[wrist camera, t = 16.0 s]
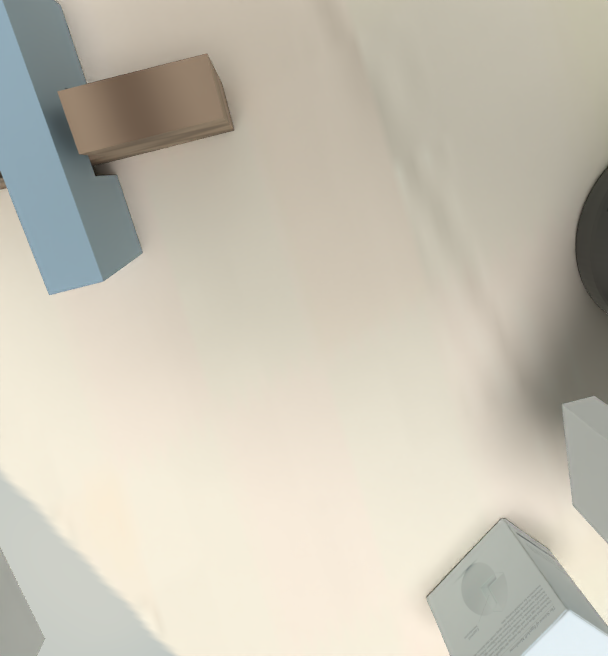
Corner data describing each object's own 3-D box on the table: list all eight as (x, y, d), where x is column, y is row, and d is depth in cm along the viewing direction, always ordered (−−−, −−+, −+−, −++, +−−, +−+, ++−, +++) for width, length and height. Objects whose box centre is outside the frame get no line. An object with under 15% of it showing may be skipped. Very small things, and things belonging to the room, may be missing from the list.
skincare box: (475, 628, 51) (527, 742, 41) (424, 597, 49) (465, 707, 39) (553, 550, 49) (628, 650, 39) (502, 515, 47) (567, 608, 37)
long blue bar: (60, 5, 34) (-19, -58, 25) (142, 253, 39) (103, 281, 29) (14, 17, 34) (-83, -41, 25) (101, 263, 39) (49, 295, 29)
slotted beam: (221, 83, 36) (207, 53, 26) (234, 130, 37) (224, 117, 27) (-72, 157, 36) (-193, 154, 26) (-53, 202, 37) (-163, 215, 27)
